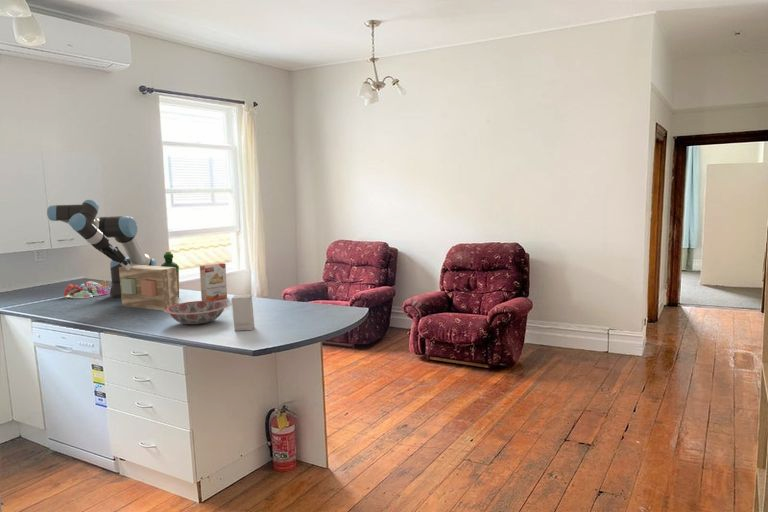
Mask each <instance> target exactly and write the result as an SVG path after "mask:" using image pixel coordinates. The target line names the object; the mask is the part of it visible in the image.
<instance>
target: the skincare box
mask: <svg viewBox="0 0 768 512" xmlns="http://www.w3.org/2000/svg"><path fill="white" fill-rule="evenodd" d="M231 305H232V306H231V307H232V318H233V327H234V331H235V330H246V331H253V329H254V328H255V316H254V315H255V314H254V307H253V295H252V294H241V295H240V294H237V295H234V296H232V298H231Z"/></svg>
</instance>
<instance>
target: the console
mask: <svg viewBox="0 0 768 512" xmlns="http://www.w3.org/2000/svg"><path fill="white" fill-rule="evenodd" d="M131 266H132V267H131V268H130V270H126V269H125V268H124V267H119V275H120V287H121V297H120V299H121V306H123V307H130V308H140V309H148V310H157V311H165V309H166V308H167V307H169V306H172V305H175V304H180V303H179V297H178V288H177V275H176V267H162V266H161V265H159V266H158V265H156V266H146V265H131ZM124 278H130V279H135V281H136V293H135V294H125V293H122V285H121V279H124ZM142 280H154V281H156V294H157V295H155V296H144V295H142V291H141V281H142Z"/></svg>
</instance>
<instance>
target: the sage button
mask: <svg viewBox="0 0 768 512" xmlns="http://www.w3.org/2000/svg"><path fill="white" fill-rule="evenodd" d="M121 285H122V293H125V294H135V293H136V281H135V279H130V278H124V279H121Z"/></svg>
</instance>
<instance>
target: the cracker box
mask: <svg viewBox="0 0 768 512" xmlns="http://www.w3.org/2000/svg"><path fill="white" fill-rule="evenodd" d="M226 265H227V264H226V263H224V262H216V263H210V264H201V265H199V274H200V275H199V279H200V296H201V297H200V298H201V301H220V300H224V299H228V290H227V289H228V288H227V286H228V285H227V266H226Z"/></svg>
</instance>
